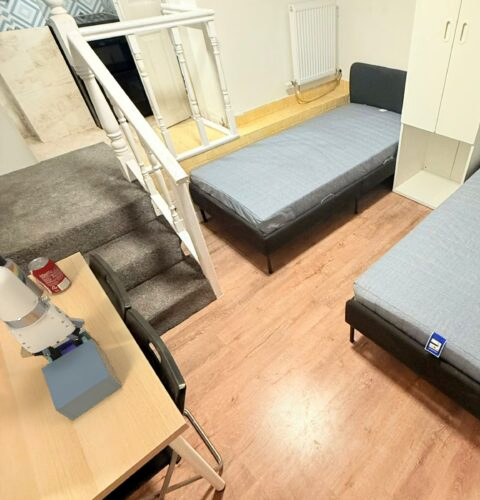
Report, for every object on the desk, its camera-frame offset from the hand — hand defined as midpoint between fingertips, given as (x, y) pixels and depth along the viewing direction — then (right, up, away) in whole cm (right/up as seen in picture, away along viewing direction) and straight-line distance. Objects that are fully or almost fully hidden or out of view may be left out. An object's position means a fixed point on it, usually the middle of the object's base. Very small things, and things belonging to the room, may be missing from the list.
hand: (69, 351), depth 88 cm
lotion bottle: (-29, +11, +22) cm, 38 cm away
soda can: (-21, +14, +24) cm, 35 cm away
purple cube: (0, -2, +2) cm, 3 cm away
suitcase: (+7, -9, 0) cm, 11 cm away
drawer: (0, -4, +4) cm, 5 cm away
